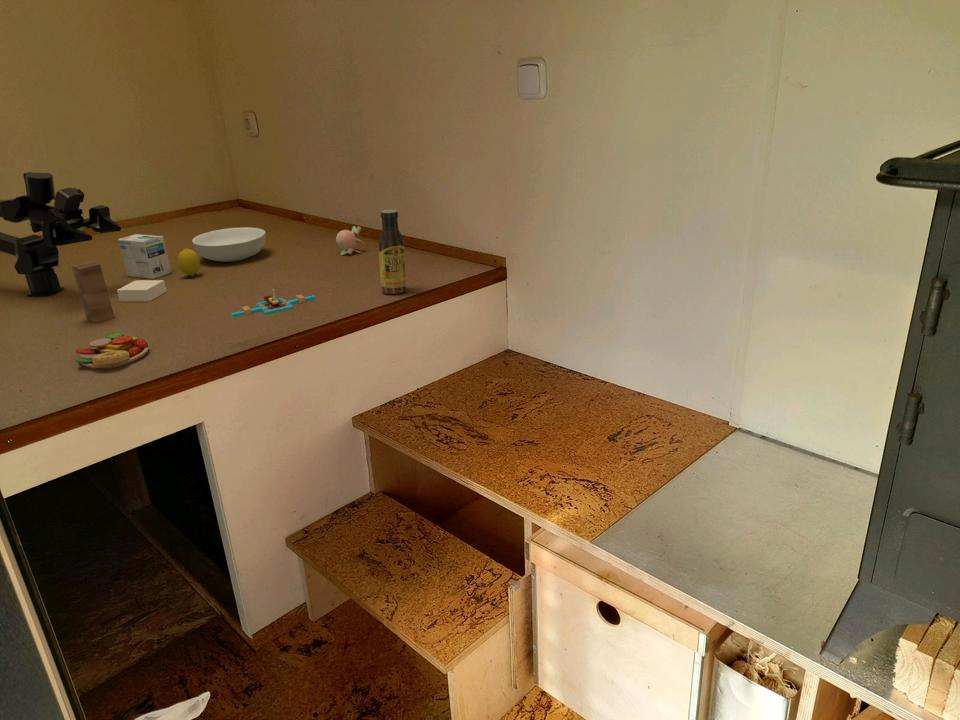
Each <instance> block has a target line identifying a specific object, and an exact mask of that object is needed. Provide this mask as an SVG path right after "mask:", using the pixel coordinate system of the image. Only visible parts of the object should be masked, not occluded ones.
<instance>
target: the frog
mask: <svg viewBox="0 0 960 720" xmlns="http://www.w3.org/2000/svg"><path fill="white" fill-rule="evenodd" d="M361 229H362V227H361V226H359V225H358V226H357V227H356V226H355V225H353V226H352V228H351V230H349V229H342V230H340V231H339V232H338V233H337V235H336V237H335V242H336V245H337V246H338V247H339V248H341V249H342V250H341V252H340V254H339V255H340V256H344V255H345V254H349V255H352V254H353V252H355V253H358V254H362V251H359V250H356V249H355V246H356V242H359V243H360V244H361V243H362V244H363V245H366V243H365V242H364V241H363V240H362V239H359V238H357V237H356V235H358V236H359V235H360V232H361Z"/></svg>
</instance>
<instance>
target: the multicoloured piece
mask: <svg viewBox="0 0 960 720" xmlns="http://www.w3.org/2000/svg"><path fill="white" fill-rule="evenodd" d="M271 291H272V296H273V297H272V296H271V295H265V296H263V299H264V301H262V302H261V301H260V302H257V303H256V307H253V308H250V307H249V306H248V305H246V306H242V307H241V310H240V311H235V312H232V313H230V314H231V317H233V318H235V317H239V316H243V315H245V316H248V315H252V314H253V313H257V312H263V313H264V314H265V315H269V314H275V313H279V312H282V311H288V310H292V309H293V308H294V306H293V304H298V303H299V304H304V303H306V302H307V301H312V300H317V298H316V296H315V295H310V296H304V295H302V294H297V295H295V299H291V300H287V299H285V298H283V297H280V298H276V294H275V289H274V288H272V289H271Z"/></svg>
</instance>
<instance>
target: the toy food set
mask: <svg viewBox="0 0 960 720" xmlns="http://www.w3.org/2000/svg"><path fill="white" fill-rule="evenodd" d="M149 349H150V346H149V344H148V342H147V341H146V340H145V339H144V338H138V337H134V336H130V335H125V334H124V333H123V332H114V333H109V334H107V335H106V336H105V337H104V338H98V339H95V340H93V341H91V342H89V347H82V348H78V349H75V353H76V354H77V355H78V354H79V357H77V358H76V359H75V362H76V363H79V364H80V365H82V366H84V367H86V366H87V367H86V368H88V367H91V368H90V369H93V368H106V369H111V368H110V367H113V368H116V367H115V366H118V367H120V366H119V365H122V366H124V365H123V364H126V365H128V364H127V363H129V364H131V363H130V362H132V361H134V362H136V361H138V360H140V359H142V358H143V357H144V356H145V355H146V354H147V353H148V351H149ZM145 353H146V354H145ZM143 355H144V356H143ZM142 356H143V357H142ZM139 358H140V359H139ZM137 359H138V360H137ZM135 360H136V361H135ZM132 363H133V362H132Z"/></svg>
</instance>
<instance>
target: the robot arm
mask: <svg viewBox="0 0 960 720" xmlns="http://www.w3.org/2000/svg"><path fill="white" fill-rule="evenodd" d="M22 175H23V180H24V185H25V192H26V194H24V195H21V196H20V195H19V196H16V197H14V198H11V199H10V198H9V199H0V218H2V220H4V221H6V222H10V223H13V224H18V223H23V222H26V221H29V222H30V223H29V226H30V227H31V228H30V229H31V230H32V233H33V234H32V235H28V236H24V237H21V238H20V237H18V236H14V235H10V234H7V233H4V232H0V252H2V253H5V254H7V255H11V256H14V257H15V258H16V259H17V260H16V261H15V263H14V269H15V271H16V272H17V274H18V275H24V276H25V277H24V278H25V280H26V282H27V286H28V288H29V292H28V293H26V294H25V295H26V296H29V297H40V296H42V297H47V296H51V295H53V294H56V293H58V292H59V291H61V290H64V289H65V286H61V285H60V282H59V281H60V280H59V278H58V275H57V273H56V271H55V268H54V267H59V265H60V264H59V262H60V261H59V260H60V258H59V254H60V252H59V249H58V247H60V246H66V245H72V244H77V243H82V242H88V241H92V240H93V236H92V235H91V234H89V233H87V232H85V231H86V230H89V229H91V230H92V231H93V232H95V233H99V234H106V233H115V232H121V231H122V228H121V225H119V224H118V223H117V222H115V221H114V220H113V219H111V213H110V207H108V206H107V205H103V204H100V205H96V206H93V207H90V208H89V210H88V217H87V218H84V217H83V209H82V208H80V204H81V203H83V202H84V198H85V193H84V191H82V190H81V189H80V188H76V187H71V186H70V187H66V188H61V189H58V190H57V191H56V190H55V181H54V174H52V173H50V172H33V171H29V172H23V173H22ZM55 191H56V192H55ZM52 200H54V203H53V205H50V204H51V203H52ZM40 232H41V233H42V236H40V235H38V234H36V233H40ZM34 233H35V234H34Z"/></svg>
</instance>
